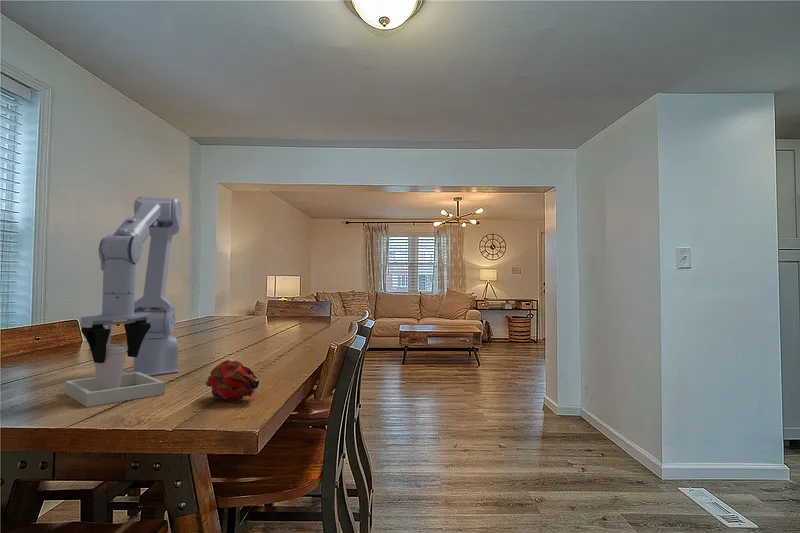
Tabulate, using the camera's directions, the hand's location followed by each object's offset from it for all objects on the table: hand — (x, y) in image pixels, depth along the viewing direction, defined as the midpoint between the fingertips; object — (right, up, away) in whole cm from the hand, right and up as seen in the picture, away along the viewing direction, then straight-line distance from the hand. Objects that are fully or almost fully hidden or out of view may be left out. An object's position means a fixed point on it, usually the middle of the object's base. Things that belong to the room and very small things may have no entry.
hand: (116, 359), depth 98 cm
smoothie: (-2, -7, 0) cm, 7 cm away
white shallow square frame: (0, -7, 0) cm, 7 cm away
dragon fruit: (+25, -8, -2) cm, 26 cm away
